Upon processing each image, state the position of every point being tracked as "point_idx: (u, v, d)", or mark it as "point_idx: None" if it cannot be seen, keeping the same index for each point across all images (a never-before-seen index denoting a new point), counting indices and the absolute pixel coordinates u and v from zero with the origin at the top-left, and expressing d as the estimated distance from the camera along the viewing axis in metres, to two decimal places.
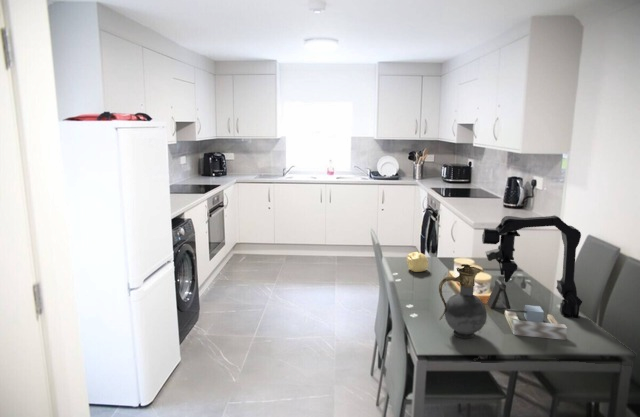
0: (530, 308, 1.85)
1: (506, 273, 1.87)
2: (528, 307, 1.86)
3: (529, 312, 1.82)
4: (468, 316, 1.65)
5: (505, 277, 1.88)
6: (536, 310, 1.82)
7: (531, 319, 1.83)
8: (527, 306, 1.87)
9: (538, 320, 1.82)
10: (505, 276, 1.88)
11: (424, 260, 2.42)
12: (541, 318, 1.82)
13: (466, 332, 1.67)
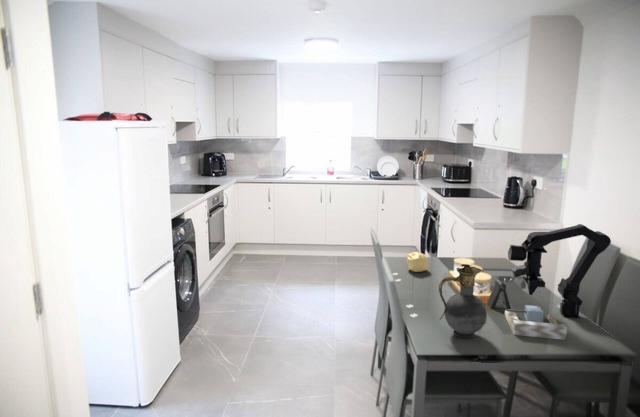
0: (530, 308, 1.85)
1: (531, 286, 1.90)
2: (528, 307, 1.86)
3: (529, 312, 1.82)
4: (468, 316, 1.65)
5: (530, 290, 1.91)
6: (536, 310, 1.82)
7: (531, 319, 1.83)
8: (527, 306, 1.87)
9: (538, 320, 1.82)
10: (529, 289, 1.91)
11: (424, 260, 2.42)
12: (541, 318, 1.82)
13: (466, 332, 1.67)
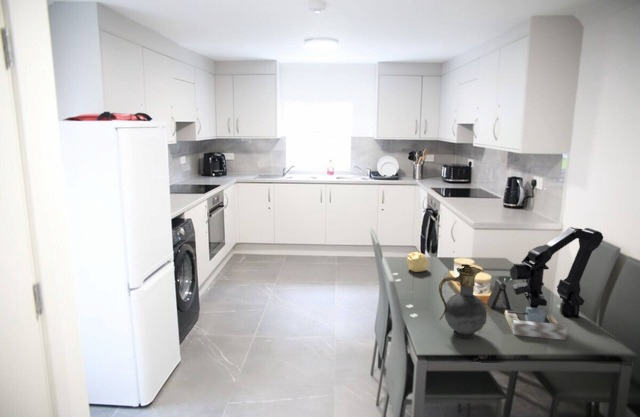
0: (531, 310, 1.83)
1: None
2: (529, 309, 1.84)
3: (530, 314, 1.81)
4: (468, 316, 1.65)
5: None
6: (537, 312, 1.80)
7: (532, 321, 1.81)
8: (528, 308, 1.85)
9: None
10: None
11: (424, 260, 2.42)
12: (542, 320, 1.80)
13: (466, 332, 1.67)
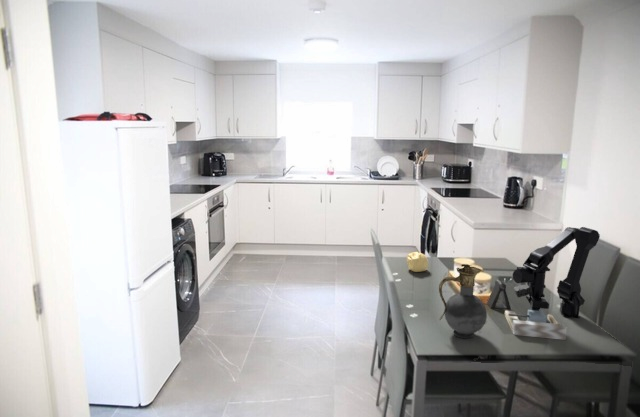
0: (533, 312, 1.80)
1: (534, 307, 1.83)
2: (531, 312, 1.81)
3: (532, 317, 1.78)
4: (468, 316, 1.65)
5: None
6: (539, 315, 1.78)
7: None
8: (530, 311, 1.82)
9: None
10: None
11: (424, 260, 2.42)
12: None
13: (466, 332, 1.67)
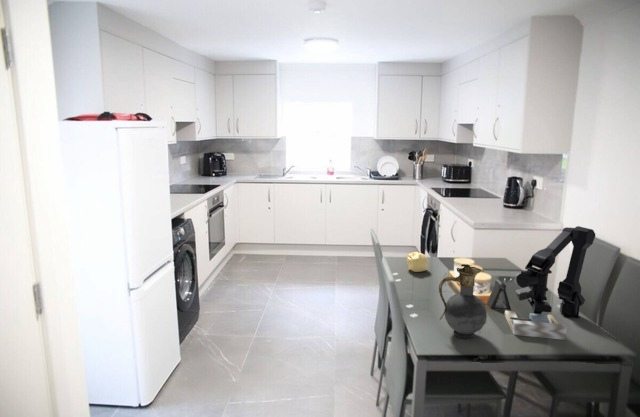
0: (535, 316, 1.77)
1: None
2: (533, 315, 1.78)
3: (534, 320, 1.75)
4: (468, 316, 1.65)
5: None
6: (541, 319, 1.74)
7: None
8: (532, 314, 1.79)
9: None
10: None
11: (424, 260, 2.42)
12: None
13: (466, 332, 1.67)
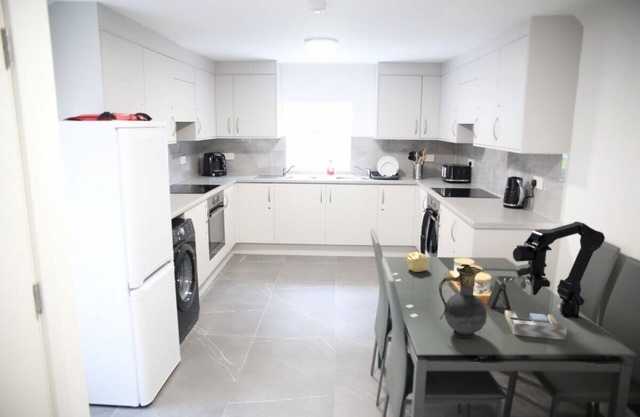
0: (535, 316, 1.77)
1: (535, 286, 1.83)
2: (533, 315, 1.78)
3: (534, 321, 1.75)
4: (468, 316, 1.65)
5: (534, 290, 1.84)
6: (542, 319, 1.74)
7: None
8: (532, 314, 1.79)
9: None
10: (533, 289, 1.84)
11: (424, 260, 2.42)
12: None
13: (466, 332, 1.67)
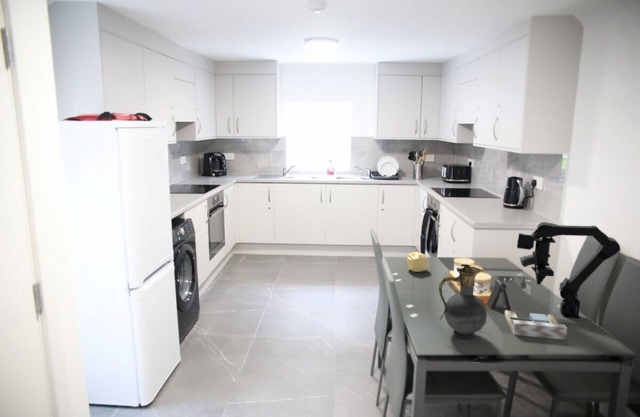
0: (535, 316, 1.77)
1: (539, 276, 1.92)
2: (533, 315, 1.78)
3: (534, 321, 1.75)
4: (468, 316, 1.65)
5: (538, 280, 1.93)
6: (542, 319, 1.74)
7: None
8: (532, 314, 1.79)
9: None
10: (537, 279, 1.93)
11: (424, 260, 2.42)
12: None
13: (466, 332, 1.67)
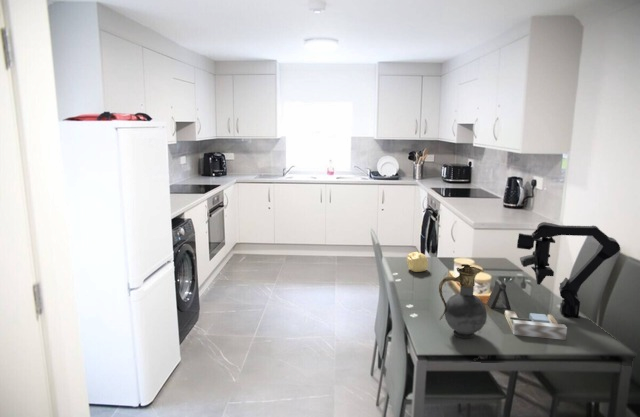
0: (535, 316, 1.77)
1: (539, 276, 1.92)
2: (533, 315, 1.78)
3: (534, 321, 1.75)
4: (468, 316, 1.65)
5: (538, 280, 1.93)
6: (542, 319, 1.74)
7: None
8: (532, 314, 1.79)
9: None
10: (537, 279, 1.93)
11: (424, 260, 2.42)
12: None
13: (466, 332, 1.67)
